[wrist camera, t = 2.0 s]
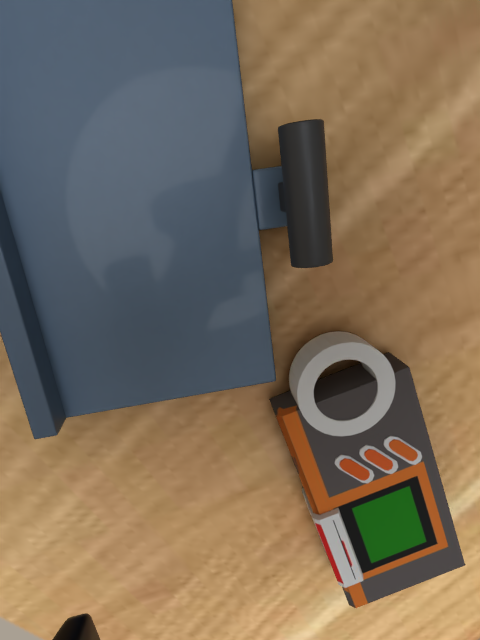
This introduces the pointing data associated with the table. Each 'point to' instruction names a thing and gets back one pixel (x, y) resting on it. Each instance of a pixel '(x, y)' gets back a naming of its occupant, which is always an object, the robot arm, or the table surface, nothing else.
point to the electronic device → (367, 468)
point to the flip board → (139, 206)
